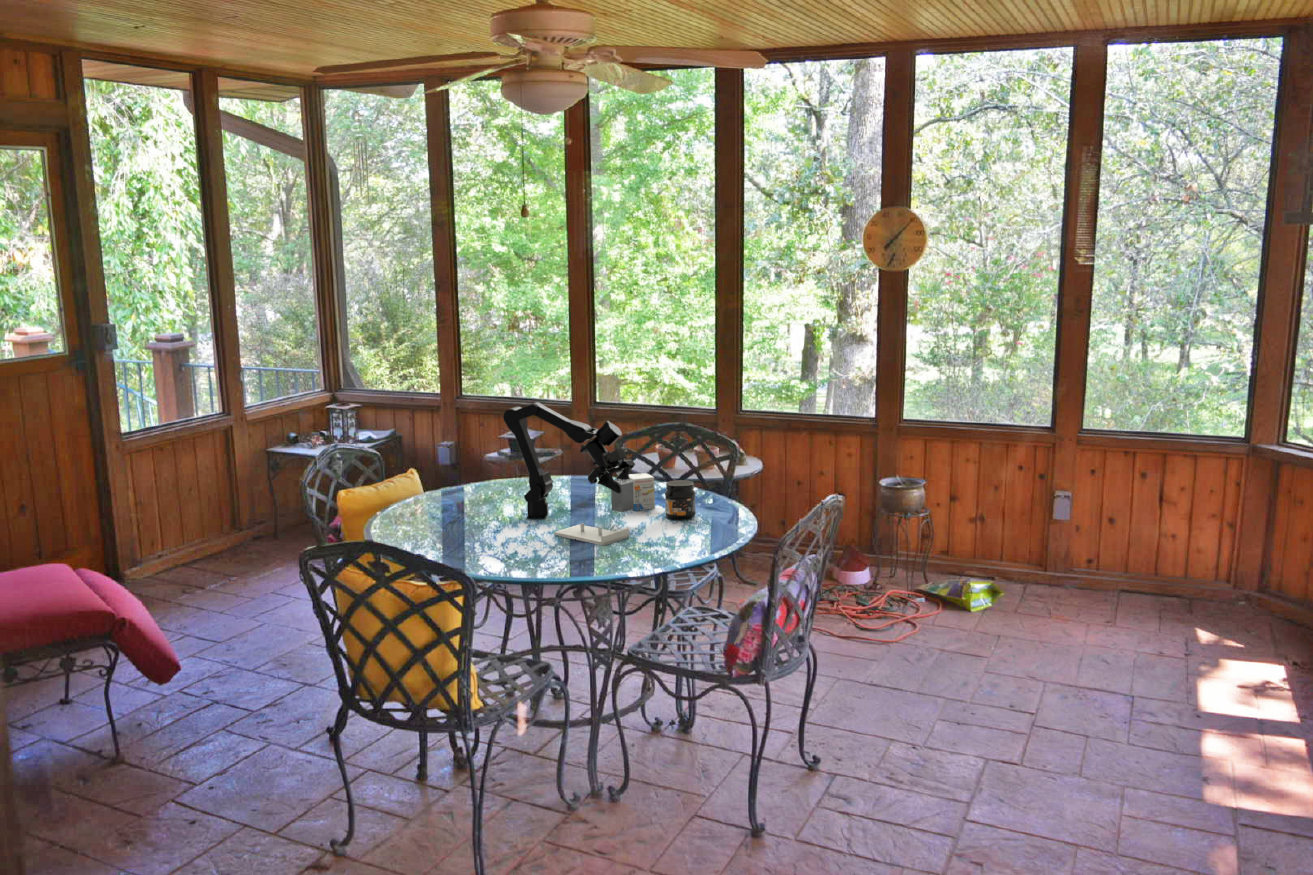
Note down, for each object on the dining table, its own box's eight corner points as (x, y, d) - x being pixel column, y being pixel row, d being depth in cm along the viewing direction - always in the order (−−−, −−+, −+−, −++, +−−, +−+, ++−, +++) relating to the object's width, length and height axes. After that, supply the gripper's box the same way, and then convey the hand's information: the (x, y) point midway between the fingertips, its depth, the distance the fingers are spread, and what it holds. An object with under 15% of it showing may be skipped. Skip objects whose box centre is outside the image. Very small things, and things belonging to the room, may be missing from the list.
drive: (611, 510, 358) (610, 481, 356) (622, 507, 362) (621, 478, 360) (622, 512, 355) (622, 482, 353) (633, 509, 359) (633, 480, 357)
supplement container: (660, 519, 367) (659, 484, 365) (672, 511, 376) (672, 478, 374) (688, 521, 362) (688, 487, 360) (700, 514, 372) (700, 480, 370)
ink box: (633, 511, 378) (632, 478, 376) (624, 506, 386) (624, 474, 384) (655, 508, 381) (655, 476, 379) (647, 503, 389) (646, 472, 387)
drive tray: (554, 534, 349) (553, 524, 348) (579, 527, 358) (579, 517, 357) (604, 545, 335) (603, 534, 334) (629, 537, 344) (629, 526, 343)
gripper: (593, 444, 350) (619, 481, 345) (630, 435, 364) (656, 471, 359) (576, 465, 356) (601, 501, 351) (613, 456, 370) (638, 491, 365)
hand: (625, 490), depth 356 cm, fingers closed on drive, 5 cm apart
